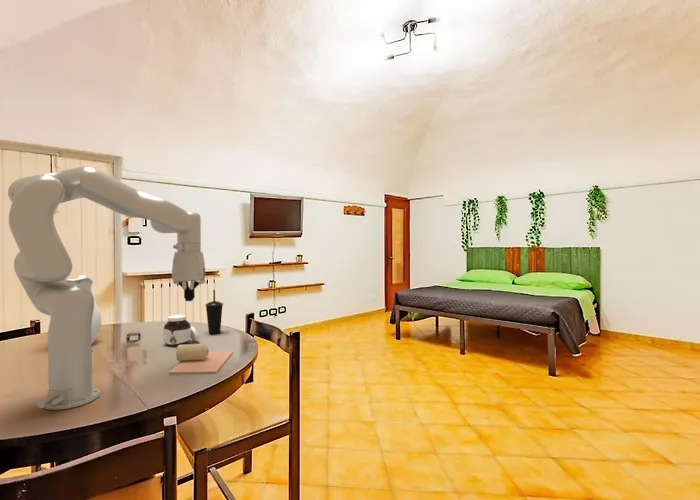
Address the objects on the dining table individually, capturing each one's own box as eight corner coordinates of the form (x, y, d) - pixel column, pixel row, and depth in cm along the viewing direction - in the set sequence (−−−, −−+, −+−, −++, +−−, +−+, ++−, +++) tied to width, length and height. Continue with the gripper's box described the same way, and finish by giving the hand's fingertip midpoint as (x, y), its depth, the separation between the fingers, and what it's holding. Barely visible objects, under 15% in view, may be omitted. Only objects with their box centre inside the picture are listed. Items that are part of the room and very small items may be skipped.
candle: (174, 358, 131) (205, 357, 132) (177, 342, 134) (207, 341, 135) (179, 362, 136) (208, 361, 137) (182, 347, 139) (210, 346, 140)
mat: (216, 373, 124) (216, 371, 124) (169, 374, 123) (168, 372, 123) (233, 352, 146) (233, 351, 146) (192, 353, 145) (192, 351, 145)
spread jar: (160, 345, 155) (160, 317, 155) (181, 338, 166) (180, 312, 166) (184, 348, 151) (184, 319, 151) (203, 341, 162) (203, 314, 162)
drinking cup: (204, 332, 177) (204, 289, 176) (222, 330, 180) (221, 288, 180) (206, 336, 170) (205, 291, 169) (224, 334, 173) (223, 290, 173)
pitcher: (96, 348, 151) (95, 278, 150) (43, 352, 145) (42, 279, 144) (109, 334, 173) (108, 272, 173) (64, 337, 167) (63, 274, 166)
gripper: (162, 248, 129) (162, 302, 129) (207, 248, 130) (207, 302, 130) (171, 247, 136) (171, 299, 137) (214, 247, 137) (214, 298, 138)
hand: (189, 300), depth 134 cm, fingers closed
